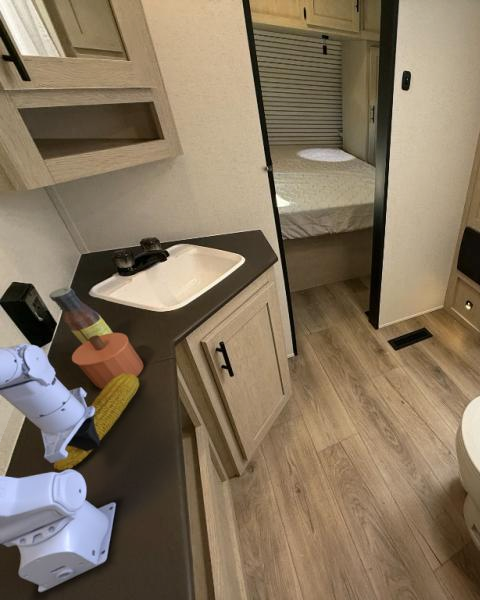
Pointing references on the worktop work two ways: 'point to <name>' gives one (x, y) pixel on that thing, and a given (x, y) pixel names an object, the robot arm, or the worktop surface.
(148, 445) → the worktop surface
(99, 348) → the pot lid
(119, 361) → the pot
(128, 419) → the worktop surface
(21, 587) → the worktop surface
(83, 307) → the sauce bottle
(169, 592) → the worktop surface
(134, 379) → the food
